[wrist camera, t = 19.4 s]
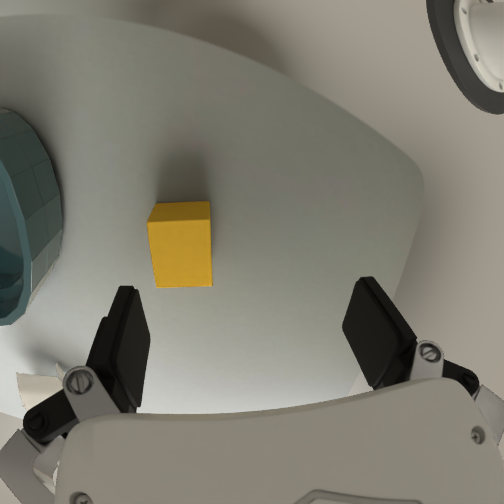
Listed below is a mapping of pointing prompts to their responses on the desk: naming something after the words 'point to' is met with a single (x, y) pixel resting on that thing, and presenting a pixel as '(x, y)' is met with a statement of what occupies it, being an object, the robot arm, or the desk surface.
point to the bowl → (25, 216)
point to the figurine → (38, 387)
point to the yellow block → (181, 244)
